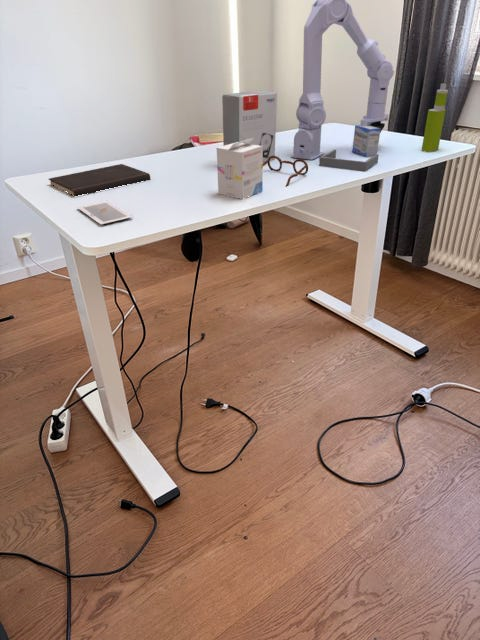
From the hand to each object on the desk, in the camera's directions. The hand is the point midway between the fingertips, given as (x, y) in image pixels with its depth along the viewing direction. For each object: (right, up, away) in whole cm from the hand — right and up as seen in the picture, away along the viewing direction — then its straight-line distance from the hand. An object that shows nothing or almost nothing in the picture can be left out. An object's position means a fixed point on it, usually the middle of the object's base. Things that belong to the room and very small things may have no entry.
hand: (371, 146), depth 164 cm
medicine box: (-4, -4, -4) cm, 7 cm away
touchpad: (-76, -35, -50) cm, 97 cm away
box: (-11, -11, -15) cm, 22 cm away
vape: (+19, -2, -1) cm, 19 cm away
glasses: (-34, -19, -26) cm, 47 cm away
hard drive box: (-41, -9, -10) cm, 44 cm away
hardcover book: (-84, -21, -27) cm, 90 cm away
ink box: (-44, -26, -38) cm, 64 cm away
